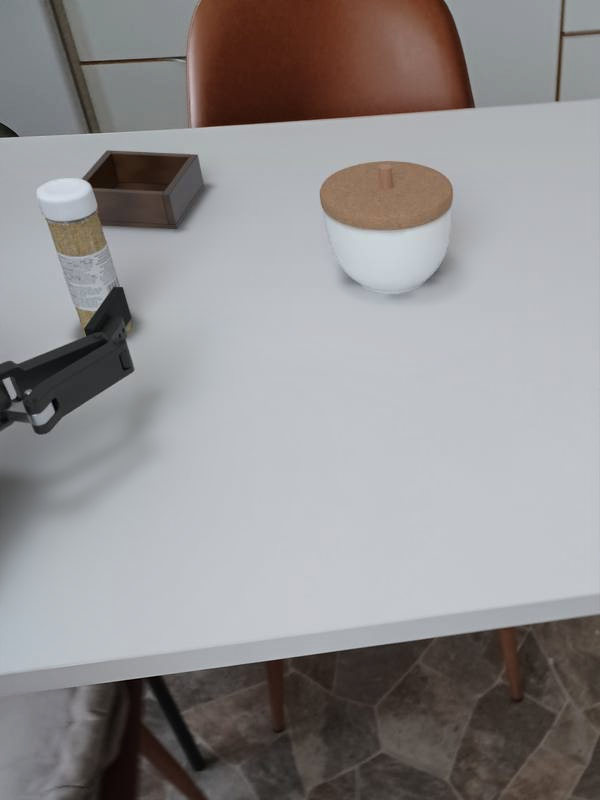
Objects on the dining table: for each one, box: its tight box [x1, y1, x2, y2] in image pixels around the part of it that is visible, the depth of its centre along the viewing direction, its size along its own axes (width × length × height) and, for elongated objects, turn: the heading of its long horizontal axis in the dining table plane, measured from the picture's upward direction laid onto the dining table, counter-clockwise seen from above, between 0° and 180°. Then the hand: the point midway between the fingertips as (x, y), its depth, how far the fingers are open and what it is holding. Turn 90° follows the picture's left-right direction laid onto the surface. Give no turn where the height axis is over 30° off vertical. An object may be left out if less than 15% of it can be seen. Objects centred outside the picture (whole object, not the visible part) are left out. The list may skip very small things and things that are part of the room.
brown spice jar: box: [35, 177, 133, 337], centre depth 85 cm, size 5×5×13 cm
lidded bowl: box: [319, 160, 454, 295], centre depth 93 cm, size 13×13×11 cm
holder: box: [81, 149, 205, 230], centre depth 106 cm, size 11×11×4 cm
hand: (42, 297), depth 78 cm, fingers open, 13 cm apart
